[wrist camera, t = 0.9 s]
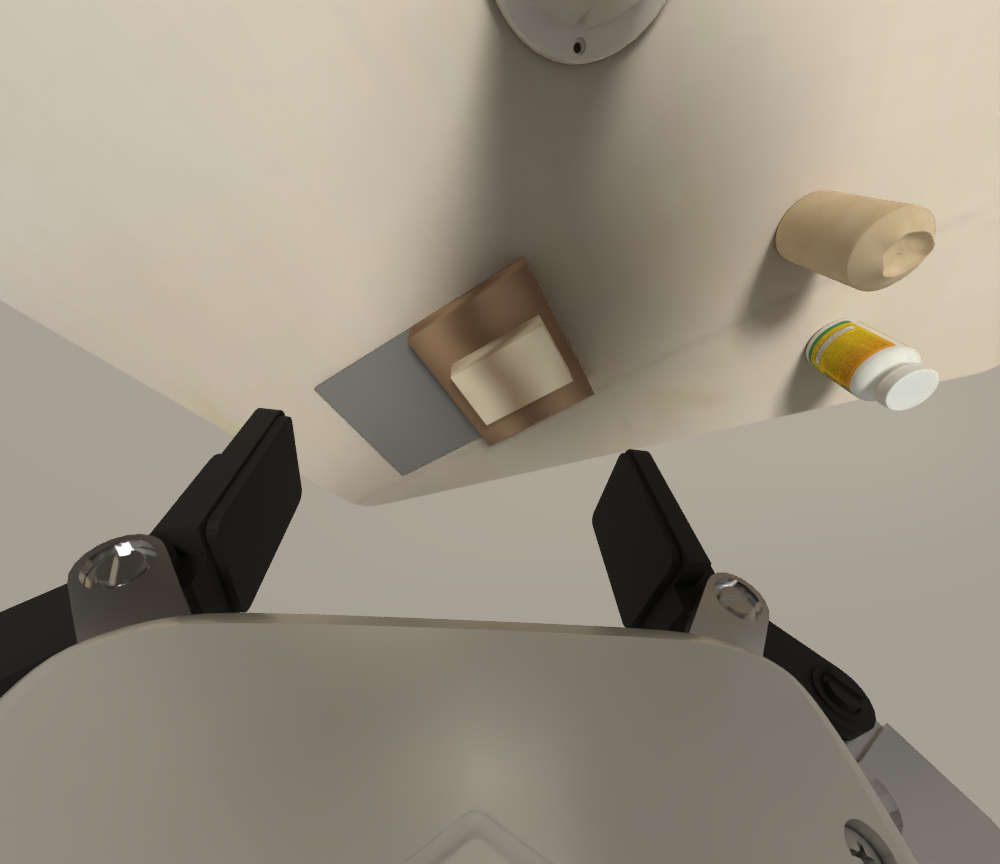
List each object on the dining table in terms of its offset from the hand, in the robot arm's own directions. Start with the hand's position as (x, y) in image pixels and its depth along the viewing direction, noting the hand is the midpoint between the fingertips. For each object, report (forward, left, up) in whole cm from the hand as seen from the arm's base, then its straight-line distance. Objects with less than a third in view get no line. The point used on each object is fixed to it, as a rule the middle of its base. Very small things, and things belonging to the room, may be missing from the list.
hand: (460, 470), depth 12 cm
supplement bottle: (-27, +26, -28) cm, 47 cm away
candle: (-26, +13, -28) cm, 40 cm away
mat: (+14, +10, -28) cm, 33 cm away
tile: (+2, +10, -24) cm, 26 cm away
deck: (+2, +10, -28) cm, 30 cm away
